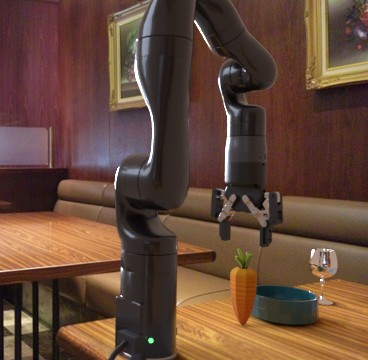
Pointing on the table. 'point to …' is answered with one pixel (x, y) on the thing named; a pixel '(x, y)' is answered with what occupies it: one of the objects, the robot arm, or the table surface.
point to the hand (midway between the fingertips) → (244, 243)
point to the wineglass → (323, 267)
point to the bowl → (286, 305)
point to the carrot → (243, 287)
